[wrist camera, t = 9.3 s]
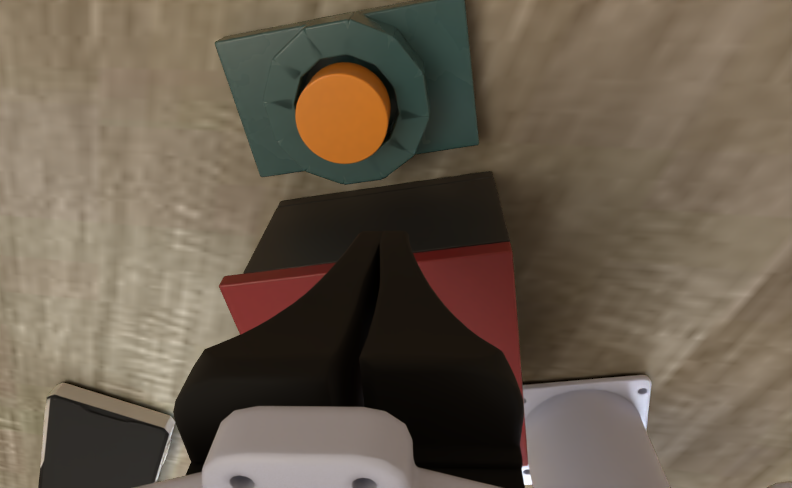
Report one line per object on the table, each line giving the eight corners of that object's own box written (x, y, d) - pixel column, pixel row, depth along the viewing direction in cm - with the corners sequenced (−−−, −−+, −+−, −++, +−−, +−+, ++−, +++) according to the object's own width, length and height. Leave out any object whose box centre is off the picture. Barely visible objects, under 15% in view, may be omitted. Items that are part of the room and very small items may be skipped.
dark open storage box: (338, 377, 32) (321, 467, 27) (280, 200, 26) (242, 272, 20) (508, 361, 31) (526, 452, 25) (491, 170, 24) (509, 239, 19)
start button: (397, 140, 21) (395, 157, 20) (316, 153, 21) (308, 170, 20) (381, 54, 19) (377, 65, 18) (293, 70, 20) (283, 82, 18)
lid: (306, 468, 27) (304, 480, 26) (223, 275, 21) (217, 286, 20) (526, 453, 25) (528, 466, 25) (510, 240, 19) (512, 250, 18)
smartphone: (33, 511, 40) (44, 392, 32) (43, 496, 41) (56, 377, 33) (138, 539, 41) (172, 431, 34) (145, 524, 42) (180, 415, 35)
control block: (477, 138, 24) (483, 165, 21) (268, 170, 25) (250, 199, 22) (462, -14, 20) (467, -4, 18) (221, 32, 22) (194, 47, 19)
